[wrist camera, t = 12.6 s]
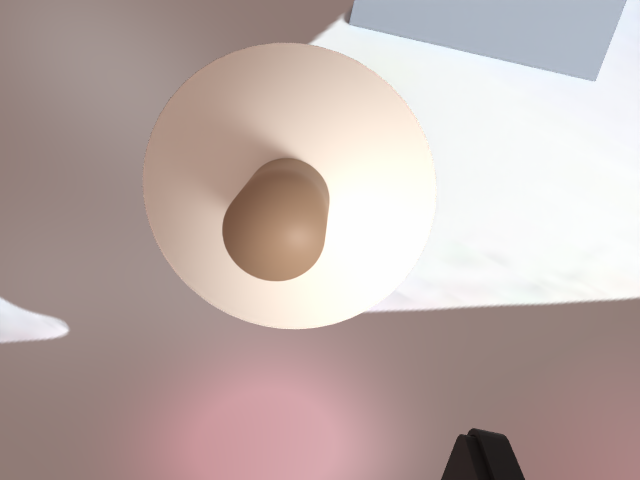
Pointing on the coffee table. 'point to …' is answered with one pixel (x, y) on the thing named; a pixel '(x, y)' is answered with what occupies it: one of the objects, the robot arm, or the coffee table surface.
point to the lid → (289, 185)
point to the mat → (504, 29)
